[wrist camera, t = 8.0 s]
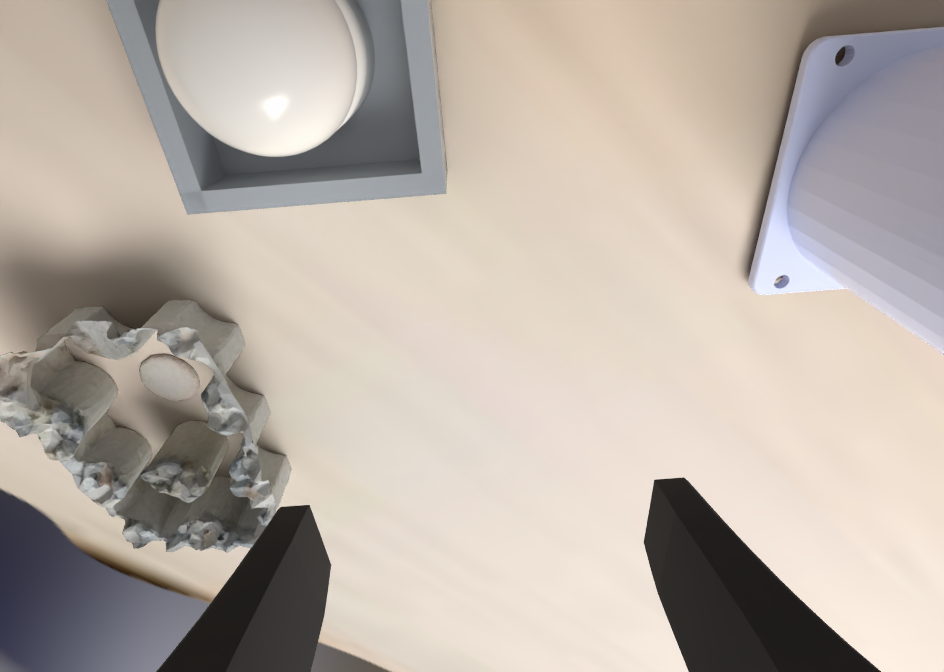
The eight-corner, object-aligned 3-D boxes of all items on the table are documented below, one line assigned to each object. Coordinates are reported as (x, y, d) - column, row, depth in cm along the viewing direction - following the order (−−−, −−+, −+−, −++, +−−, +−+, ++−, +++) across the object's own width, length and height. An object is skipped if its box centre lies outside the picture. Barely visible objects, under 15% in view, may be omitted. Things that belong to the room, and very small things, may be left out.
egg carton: (41, 294, 18) (-56, 357, 15) (251, 289, 18) (204, 350, 15) (144, 497, 24) (91, 578, 20) (305, 492, 24) (280, 571, 21)
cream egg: (359, -48, 12) (311, -84, 8) (386, 125, 15) (358, 168, 10) (198, -34, 13) (68, -62, 8) (248, 137, 15) (164, 184, 10)
